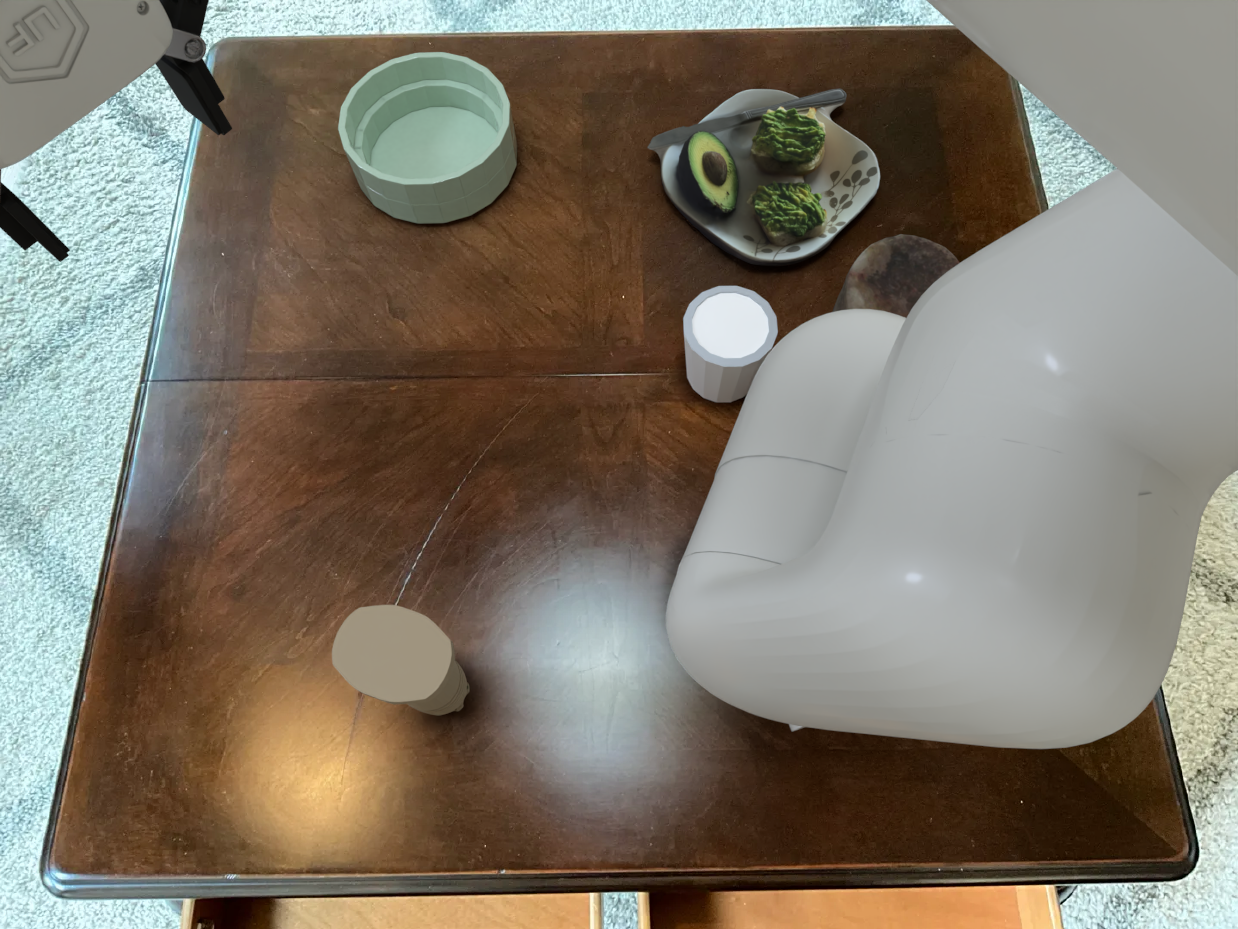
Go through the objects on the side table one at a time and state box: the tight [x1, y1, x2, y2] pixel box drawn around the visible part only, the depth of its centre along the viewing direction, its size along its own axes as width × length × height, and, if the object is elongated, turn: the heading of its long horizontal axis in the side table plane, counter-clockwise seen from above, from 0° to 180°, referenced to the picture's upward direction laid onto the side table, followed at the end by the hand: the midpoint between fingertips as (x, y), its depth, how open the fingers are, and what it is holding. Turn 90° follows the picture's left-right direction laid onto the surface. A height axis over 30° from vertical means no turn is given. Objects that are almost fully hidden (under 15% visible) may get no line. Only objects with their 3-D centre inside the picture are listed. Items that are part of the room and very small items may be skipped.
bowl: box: [337, 51, 518, 225], centre depth 76 cm, size 14×14×6 cm
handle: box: [331, 604, 470, 717], centre depth 54 cm, size 5×6×15 cm
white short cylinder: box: [682, 285, 779, 403], centre depth 67 cm, size 7×7×7 cm
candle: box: [831, 233, 960, 318], centre depth 58 cm, size 8×7×20 cm
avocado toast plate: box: [646, 88, 882, 267], centre depth 75 cm, size 19×18×5 cm
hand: (131, 179), depth 43 cm, fingers open, 9 cm apart
